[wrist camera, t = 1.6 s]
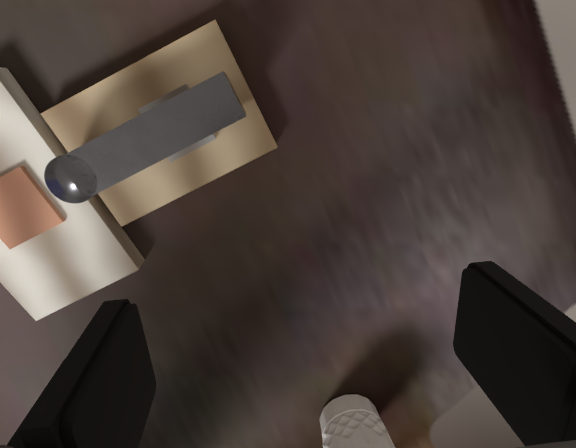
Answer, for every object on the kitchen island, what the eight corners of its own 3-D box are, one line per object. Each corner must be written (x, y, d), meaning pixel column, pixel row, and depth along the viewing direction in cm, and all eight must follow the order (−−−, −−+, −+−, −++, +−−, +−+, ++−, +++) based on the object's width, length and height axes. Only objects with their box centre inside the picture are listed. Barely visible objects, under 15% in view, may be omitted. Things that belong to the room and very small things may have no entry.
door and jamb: (47, 308, 34) (32, 324, 32) (-110, 132, 28) (-142, 136, 25) (295, 184, 33) (299, 191, 30) (189, -33, 26) (183, -45, 24)
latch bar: (93, 193, 29) (65, 211, 24) (67, 156, 28) (33, 169, 23) (246, 113, 28) (246, 118, 23) (226, 72, 27) (222, 69, 22)
